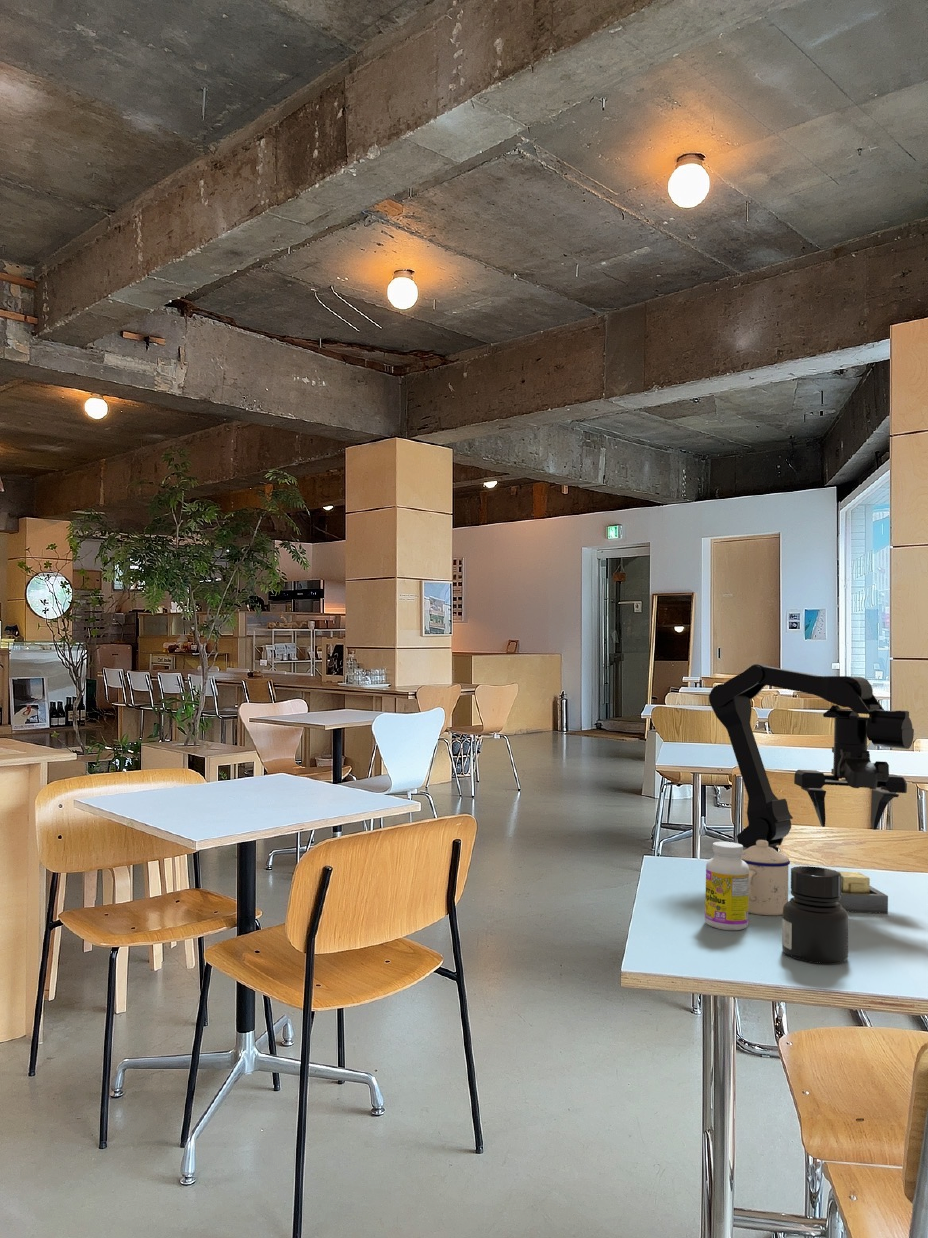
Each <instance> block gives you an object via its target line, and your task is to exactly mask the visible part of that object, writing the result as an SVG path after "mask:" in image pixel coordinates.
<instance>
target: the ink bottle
mask: <svg viewBox="0 0 928 1238" xmlns="http://www.w3.org/2000/svg"><path fill="white" fill-rule="evenodd" d="M790 895H791V896H793V897H791V898H790V899H789V900H788V902H787V903H786V904H785V905H784V907H783V914H782V926H781V928H782V933H781V935H782V936H781V938H782V939H781V941H782V942H781V944H782V945H781V946H782V947H781V948H782V951H783V953H784V954H786V955H787V956H789V957H791V958H794V959H797V960H800V961H805V962H809V963H813V964H821V965H833V964H840V963H843V962H845V961H846V960H847V961H848V957H849V924H850V923H849V921H850V920H849V919H850V917H849V914H848V913H849V912H847V911H846V910H845V909H844V908H843V907H842V906H841V904H840V903H838V902H837V901H839V900H840V899H841V896H840V895H841V874H840V872H837V870H834V869H832V868H831V869H830V868H825V867H819V866H811V865H810V866H809V865H807V866H804V865H803V866H802V865H800V866H793V867H791V868H790Z"/></svg>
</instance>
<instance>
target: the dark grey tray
mask: <svg viewBox="0 0 928 1238" xmlns="http://www.w3.org/2000/svg"><path fill="white" fill-rule="evenodd" d="M840 896H841V899H840V900H839V901H837V902H838V903H840V904H841V906H842V907H843V908H844V909H845V910H846V911H847V913H858V914H860V913H861V914H862V913H863V914H883V915H885V914H887V915H888V914H889V895H888V894H885V893H884V892H882V891H880V890H878V889H876V888H874V887H873V886H871V885H870V894H859V893H841V895H840Z"/></svg>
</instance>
